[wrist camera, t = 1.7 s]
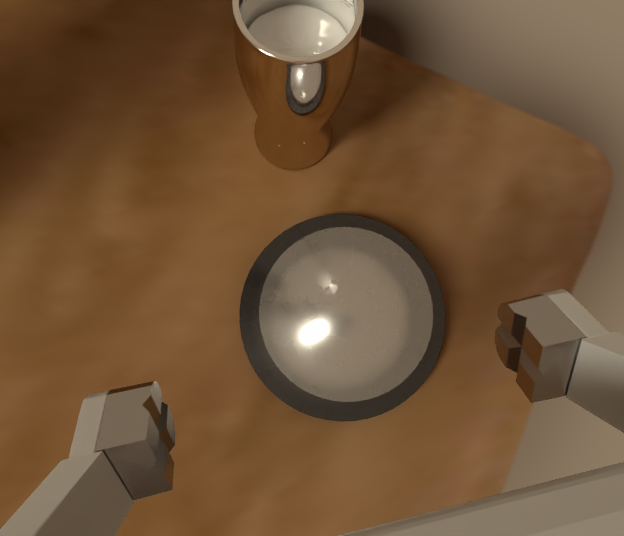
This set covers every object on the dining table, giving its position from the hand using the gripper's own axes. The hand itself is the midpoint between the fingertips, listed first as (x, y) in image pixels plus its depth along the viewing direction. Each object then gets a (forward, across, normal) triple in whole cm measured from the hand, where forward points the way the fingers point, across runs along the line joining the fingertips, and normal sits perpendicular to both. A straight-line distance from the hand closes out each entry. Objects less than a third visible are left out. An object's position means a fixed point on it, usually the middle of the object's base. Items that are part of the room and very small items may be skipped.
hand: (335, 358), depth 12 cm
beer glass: (+30, -3, +6) cm, 31 cm away
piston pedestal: (+20, -4, +16) cm, 25 cm away
